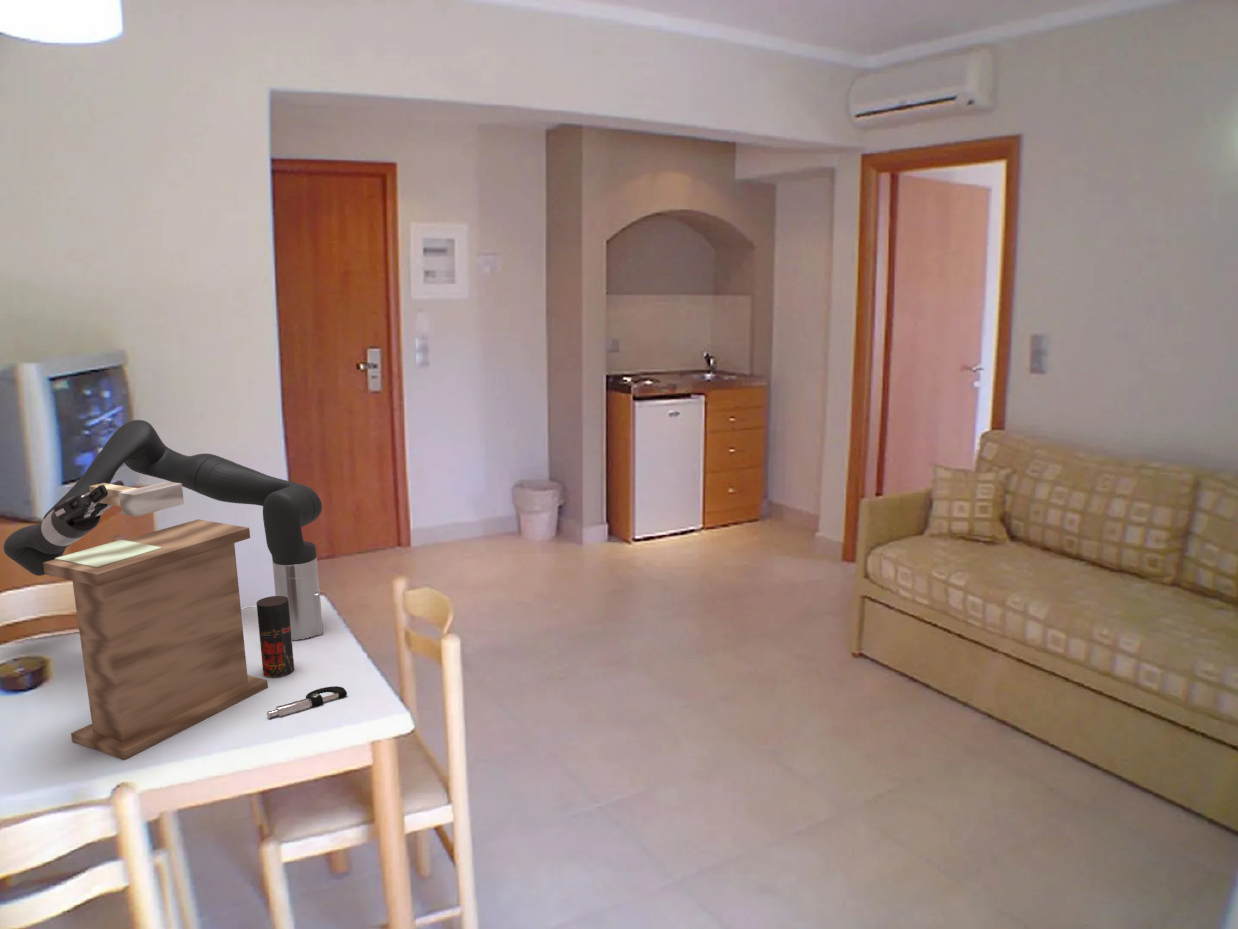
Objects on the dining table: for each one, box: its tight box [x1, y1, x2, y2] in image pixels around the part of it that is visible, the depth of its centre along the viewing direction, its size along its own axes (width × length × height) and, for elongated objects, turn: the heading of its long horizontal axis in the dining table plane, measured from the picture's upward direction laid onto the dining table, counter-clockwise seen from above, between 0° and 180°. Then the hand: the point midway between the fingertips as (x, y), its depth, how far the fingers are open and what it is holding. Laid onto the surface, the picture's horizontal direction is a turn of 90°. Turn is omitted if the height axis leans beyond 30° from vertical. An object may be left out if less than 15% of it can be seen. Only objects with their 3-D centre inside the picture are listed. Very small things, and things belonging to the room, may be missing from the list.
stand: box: [43, 519, 269, 761], centre depth 164 cm, size 15×30×32 cm, turn 153°
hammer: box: [89, 480, 185, 517], centre depth 173 cm, size 18×10×4 cm, turn 63°
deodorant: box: [256, 595, 295, 679], centre depth 183 cm, size 6×6×15 cm
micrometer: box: [266, 685, 348, 720], centre depth 171 cm, size 15×7×2 cm, turn 127°
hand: (113, 487), depth 174 cm, fingers closed on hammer, 3 cm apart
